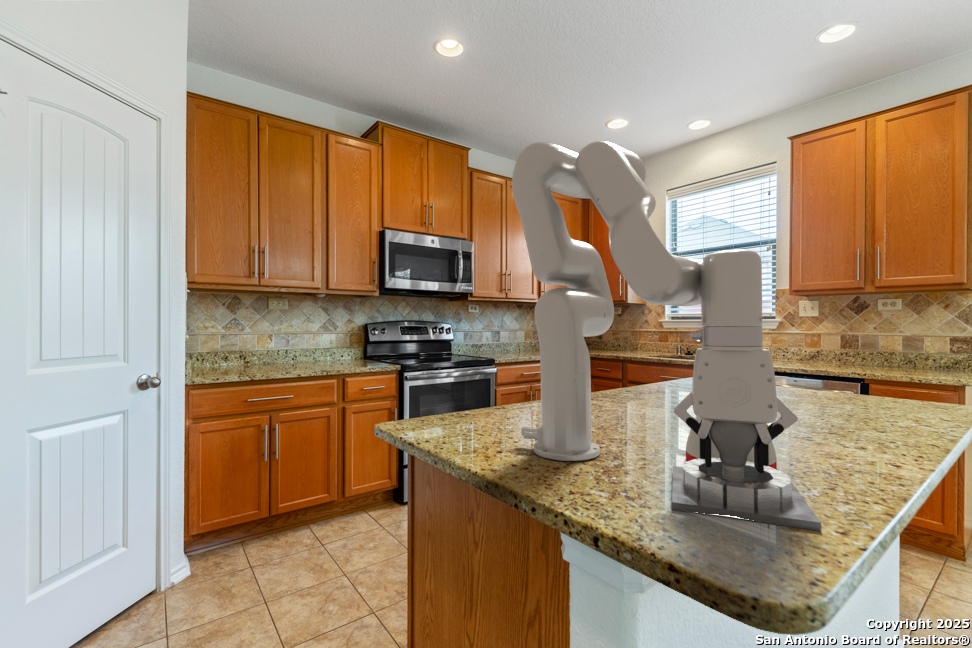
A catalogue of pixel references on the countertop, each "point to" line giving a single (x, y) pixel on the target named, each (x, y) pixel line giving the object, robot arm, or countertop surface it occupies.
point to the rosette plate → (763, 515)
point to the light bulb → (733, 446)
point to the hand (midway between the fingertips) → (732, 466)
